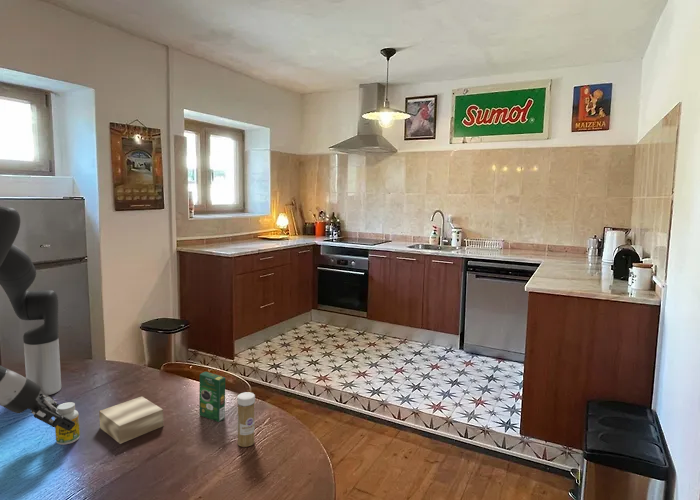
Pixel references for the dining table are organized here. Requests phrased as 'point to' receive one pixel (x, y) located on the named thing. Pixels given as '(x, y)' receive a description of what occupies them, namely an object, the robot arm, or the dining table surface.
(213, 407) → the coffee box
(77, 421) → the supplement bottle
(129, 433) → the pale wooden block
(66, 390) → the dining table surface
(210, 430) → the dining table surface
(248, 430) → the sprinkles bottle
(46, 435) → the dining table surface
